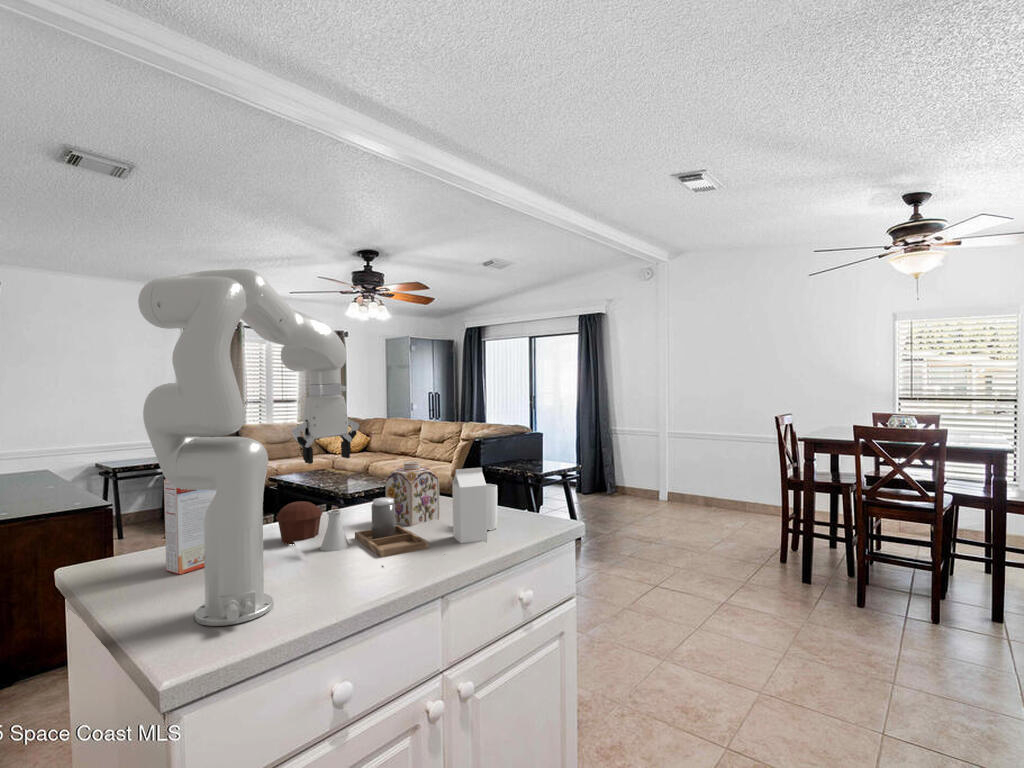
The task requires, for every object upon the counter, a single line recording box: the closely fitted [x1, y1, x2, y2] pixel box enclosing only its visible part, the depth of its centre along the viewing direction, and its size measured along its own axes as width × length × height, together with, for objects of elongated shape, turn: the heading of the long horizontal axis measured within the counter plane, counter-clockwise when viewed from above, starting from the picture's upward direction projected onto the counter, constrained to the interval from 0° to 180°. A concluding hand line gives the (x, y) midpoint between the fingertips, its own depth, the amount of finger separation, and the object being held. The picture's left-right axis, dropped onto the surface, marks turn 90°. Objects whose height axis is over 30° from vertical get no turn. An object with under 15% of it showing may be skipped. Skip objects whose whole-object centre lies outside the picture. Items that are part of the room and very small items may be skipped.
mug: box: [486, 483, 498, 530], centre depth 155 cm, size 10×7×12 cm, turn 44°
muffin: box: [275, 500, 323, 546], centre depth 145 cm, size 12×11×10 cm
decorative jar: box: [385, 461, 441, 527], centre depth 162 cm, size 12×12×18 cm
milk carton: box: [452, 467, 488, 544], centre depth 140 cm, size 7×7×19 cm
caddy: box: [354, 524, 430, 559], centre depth 137 cm, size 20×12×3 cm, turn 33°
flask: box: [320, 509, 350, 552], centre depth 134 cm, size 7×7×10 cm
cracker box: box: [163, 478, 216, 575], centre depth 126 cm, size 14×6×21 cm, turn 149°
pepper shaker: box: [371, 497, 396, 539], centre depth 141 cm, size 6×6×10 cm
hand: (327, 460), depth 134 cm, fingers open, 9 cm apart
